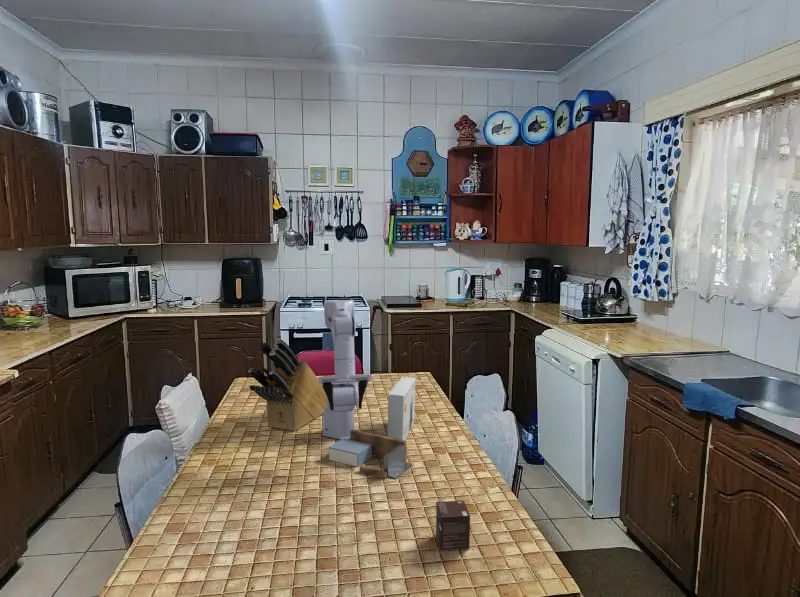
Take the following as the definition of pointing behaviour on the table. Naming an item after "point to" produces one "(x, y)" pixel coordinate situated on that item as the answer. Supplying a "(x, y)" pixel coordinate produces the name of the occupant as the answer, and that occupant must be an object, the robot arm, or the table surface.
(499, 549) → the table surface
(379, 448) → the shelf
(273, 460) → the table surface
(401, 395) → the skincare box
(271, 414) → the knife block
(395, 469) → the bookend
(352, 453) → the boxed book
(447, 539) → the box
